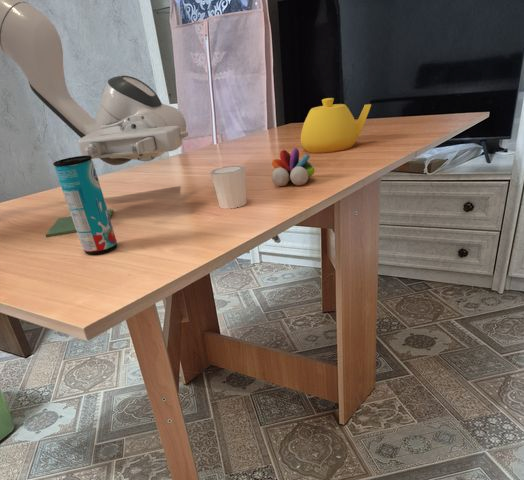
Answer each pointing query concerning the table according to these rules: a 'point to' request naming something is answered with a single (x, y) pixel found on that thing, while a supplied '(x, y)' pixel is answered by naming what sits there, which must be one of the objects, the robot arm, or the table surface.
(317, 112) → the teapot
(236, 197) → the white cup
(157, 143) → the robot arm
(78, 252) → the table surface
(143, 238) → the table surface
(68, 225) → the mat
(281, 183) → the rainbow petal toy
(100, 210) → the beverage can
